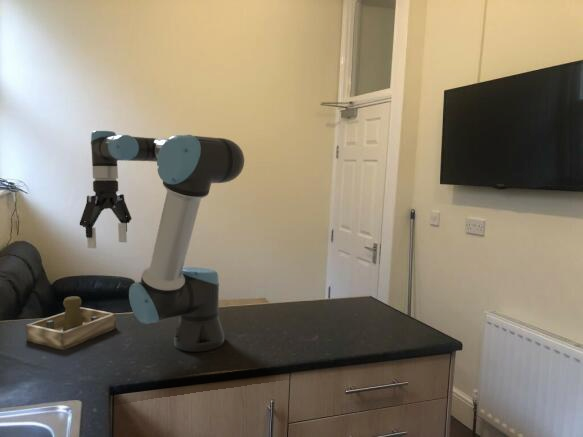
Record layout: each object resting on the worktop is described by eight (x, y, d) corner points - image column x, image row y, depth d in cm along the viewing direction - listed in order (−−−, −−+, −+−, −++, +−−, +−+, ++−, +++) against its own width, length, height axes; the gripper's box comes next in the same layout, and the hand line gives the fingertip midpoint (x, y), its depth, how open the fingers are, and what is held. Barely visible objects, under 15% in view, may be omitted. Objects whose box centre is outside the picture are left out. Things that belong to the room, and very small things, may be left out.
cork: (87, 327, 143) (86, 294, 142) (76, 334, 137) (75, 300, 136) (69, 326, 144) (68, 294, 143) (58, 333, 138) (57, 299, 137)
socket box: (116, 328, 147) (115, 313, 146) (63, 349, 129) (62, 333, 128) (81, 321, 153) (80, 307, 153) (26, 340, 135) (25, 324, 134)
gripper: (123, 179, 155) (125, 239, 157) (64, 179, 132) (67, 250, 134) (140, 179, 153) (142, 240, 155) (83, 179, 129) (87, 251, 131)
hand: (108, 245), depth 144 cm, fingers open, 13 cm apart
